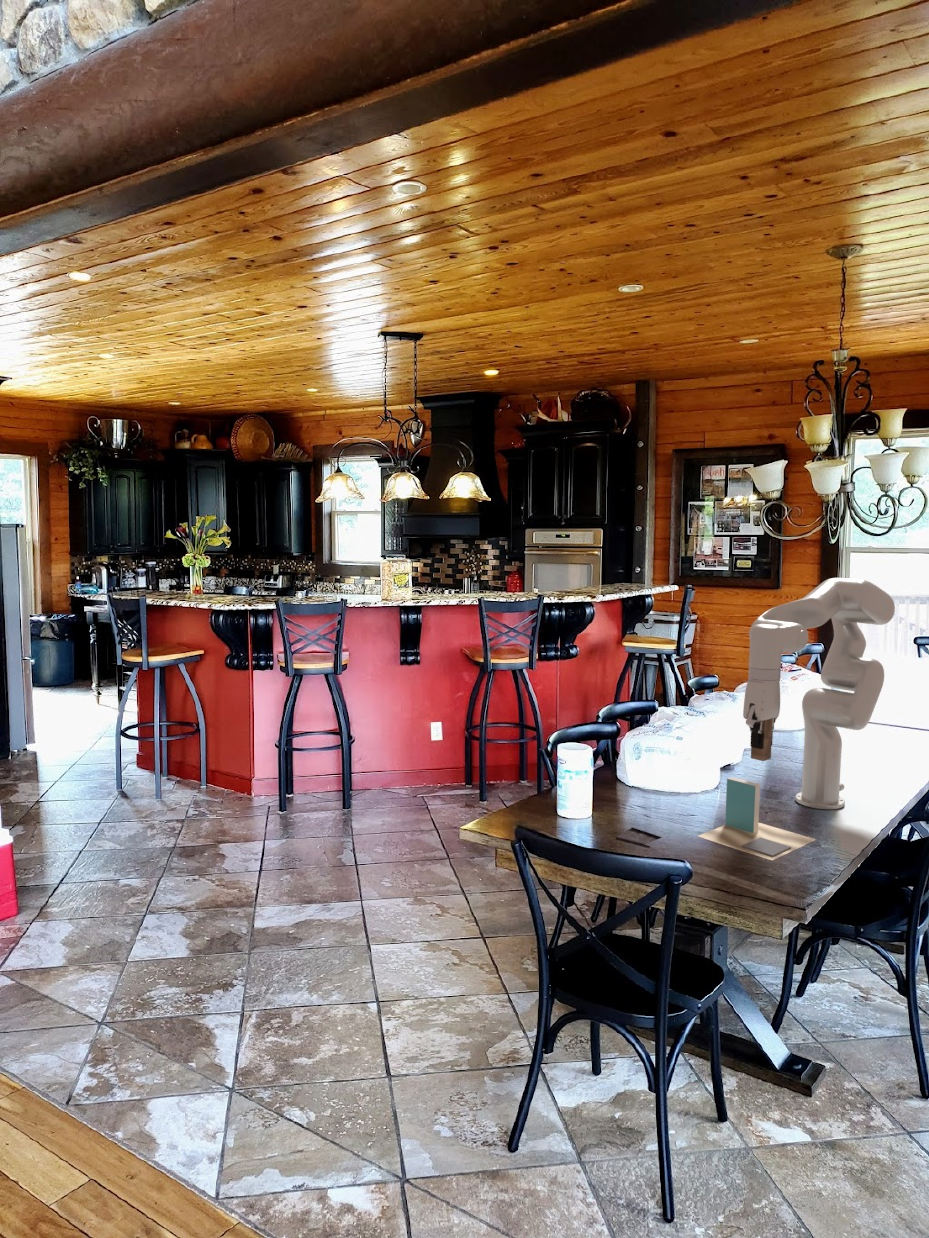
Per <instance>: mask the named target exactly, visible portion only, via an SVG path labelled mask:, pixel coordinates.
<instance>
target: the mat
mask: <svg viewBox="0 0 929 1238" xmlns="http://www.w3.org/2000/svg"><path fill="white" fill-rule="evenodd" d="M742 847H743V848H746V849H749V850H752V851H756V852H759V853H762V854H765V855H768V856H771V857H774V856H776V855H778V854H780V853H782V852H785V851H787V850H789V849H791V847H790V846H787V845H784V844H780V843H777V842H774V841H771V840H767V839H764V838H761V837H760V838H758V839H755V840H753V841H751V842H749V843H746V844H744V845H742Z"/></svg>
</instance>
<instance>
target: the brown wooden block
mask: <svg viewBox="0 0 929 1238" xmlns="http://www.w3.org/2000/svg"><path fill="white" fill-rule="evenodd" d="M755 719H756V720H757V718H756V717H755ZM755 723H756V722H755ZM772 723H773V718H771V719H768V720H765V721H763V730H762V733H764V740H763V749H757V748H753V747H751V746H750V759H752V760H756V761H761V762H766V761H768V760H771V759H772V746H771V744H772V745H773V738H772V731H773V730H772ZM756 724H757V725H758V726H759V723H756Z"/></svg>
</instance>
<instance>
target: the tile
mask: <svg viewBox="0 0 929 1238" xmlns="http://www.w3.org/2000/svg"><path fill="white" fill-rule="evenodd" d="M725 797H726V798H725V819H724V820H725V823H724V825H727V826H730V827H734V828H737V829H740V830H743V831H747V832H750V833H753V834H754V833H756V832H758V824H759V823H760V822H759V821H760V820H759V819H760V818H759V817H760V798H761V784H760V783H757V782H753V781H749V780H745V779H742V778H736V777H734V776H730V777H728V778H726V796H725Z"/></svg>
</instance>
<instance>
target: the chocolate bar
mask: <svg viewBox="0 0 929 1238" xmlns="http://www.w3.org/2000/svg"><path fill="white" fill-rule="evenodd" d="M662 838H663V837H662V836H659V835H656V834H653V833H650V832H648V831H645V830H641V829H638V828H636V827H630V828H629V829H627V830H625V831H624V832H621V833H620V834H618V835H617V836H615V840H618V841H623V842H627V843H630V844H634V845H638V844H639V845H638V846H642V845H643V846H642V847H645V846H646V848H649V847H650V848H651V846H649V845H646V844H648V843H651V842H654V841H657V840H659V839H662Z"/></svg>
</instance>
